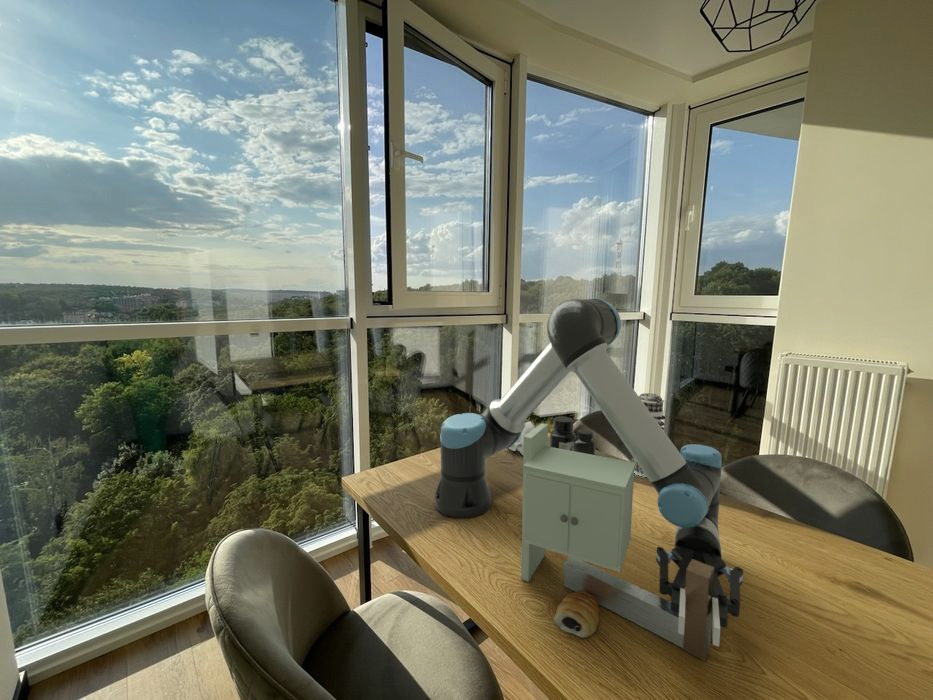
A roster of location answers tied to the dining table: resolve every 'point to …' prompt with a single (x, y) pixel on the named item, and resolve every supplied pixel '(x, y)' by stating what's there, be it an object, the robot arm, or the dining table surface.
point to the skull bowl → (522, 438)
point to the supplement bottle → (584, 442)
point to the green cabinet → (574, 505)
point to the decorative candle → (656, 409)
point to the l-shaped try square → (652, 602)
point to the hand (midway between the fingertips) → (698, 630)
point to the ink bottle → (563, 434)
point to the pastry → (578, 614)
